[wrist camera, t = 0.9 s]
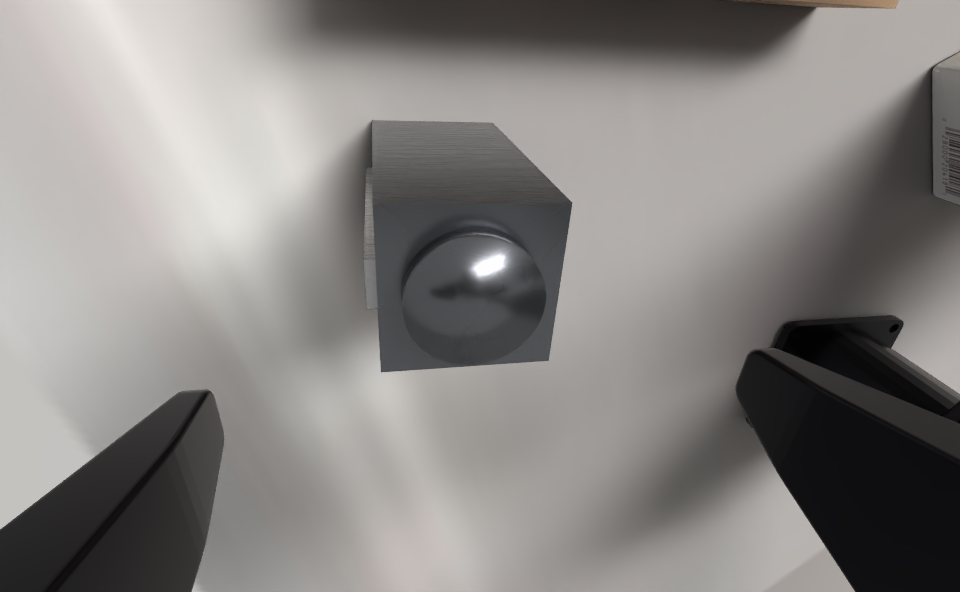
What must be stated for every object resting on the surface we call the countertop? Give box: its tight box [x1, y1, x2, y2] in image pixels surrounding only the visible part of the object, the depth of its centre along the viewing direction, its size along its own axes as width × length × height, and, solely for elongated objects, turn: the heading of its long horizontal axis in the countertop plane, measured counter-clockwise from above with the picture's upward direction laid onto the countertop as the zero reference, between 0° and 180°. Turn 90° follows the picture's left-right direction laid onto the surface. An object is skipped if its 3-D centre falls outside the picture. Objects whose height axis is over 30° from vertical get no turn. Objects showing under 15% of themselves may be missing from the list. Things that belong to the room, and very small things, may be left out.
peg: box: [364, 120, 572, 372], centre depth 14 cm, size 4×4×9 cm
